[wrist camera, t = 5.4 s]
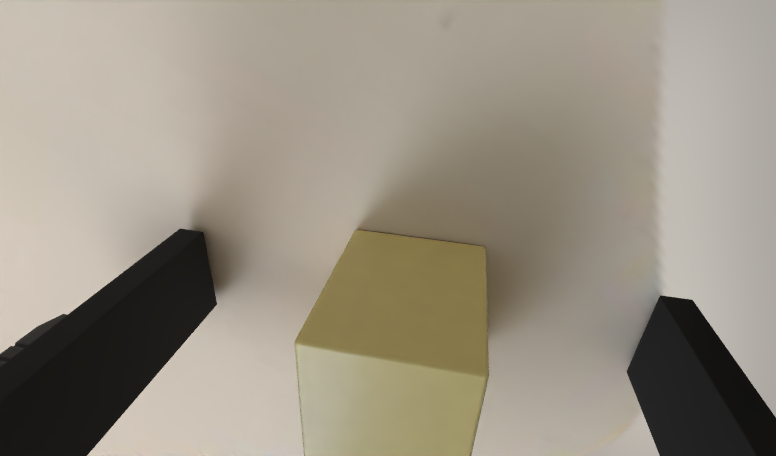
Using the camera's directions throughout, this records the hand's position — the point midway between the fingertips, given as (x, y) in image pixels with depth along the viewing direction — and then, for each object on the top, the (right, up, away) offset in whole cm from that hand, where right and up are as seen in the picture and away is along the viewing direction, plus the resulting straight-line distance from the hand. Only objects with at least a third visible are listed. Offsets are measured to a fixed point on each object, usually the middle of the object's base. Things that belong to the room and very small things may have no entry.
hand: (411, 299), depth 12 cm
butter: (0, 0, 0) cm, 0 cm away
